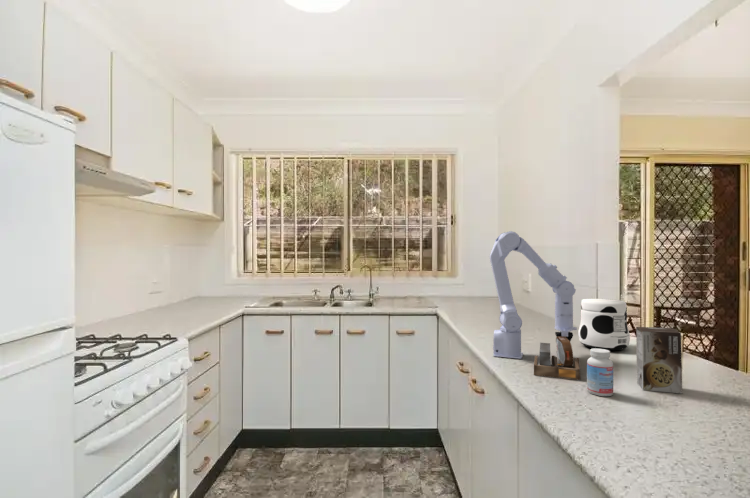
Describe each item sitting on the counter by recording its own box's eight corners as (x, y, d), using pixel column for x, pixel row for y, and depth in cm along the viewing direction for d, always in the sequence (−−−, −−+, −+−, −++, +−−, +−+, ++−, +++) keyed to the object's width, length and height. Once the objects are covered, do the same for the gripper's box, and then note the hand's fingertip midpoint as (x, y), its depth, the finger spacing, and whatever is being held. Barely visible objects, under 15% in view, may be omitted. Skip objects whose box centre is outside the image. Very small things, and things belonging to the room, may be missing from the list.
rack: (533, 375, 124) (533, 352, 124) (535, 362, 138) (535, 341, 138) (582, 380, 119) (582, 356, 119) (579, 366, 133) (578, 344, 133)
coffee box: (673, 386, 114) (673, 327, 114) (682, 394, 107) (682, 332, 108) (635, 383, 117) (635, 326, 117) (642, 390, 110) (642, 330, 110)
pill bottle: (603, 398, 105) (603, 354, 105) (582, 391, 110) (581, 349, 110) (618, 394, 107) (618, 351, 107) (596, 387, 113) (596, 346, 113)
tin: (574, 370, 128) (574, 342, 128) (563, 369, 129) (563, 342, 129) (564, 358, 143) (564, 334, 143) (554, 357, 144) (554, 333, 144)
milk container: (582, 340, 171) (582, 297, 171) (631, 346, 160) (631, 300, 160) (574, 349, 156) (574, 301, 157) (627, 355, 146) (627, 305, 146)
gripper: (578, 318, 136) (578, 359, 136) (575, 312, 150) (575, 349, 149) (554, 317, 139) (555, 357, 139) (554, 311, 152) (554, 347, 152)
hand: (564, 353), depth 144 cm, fingers closed
